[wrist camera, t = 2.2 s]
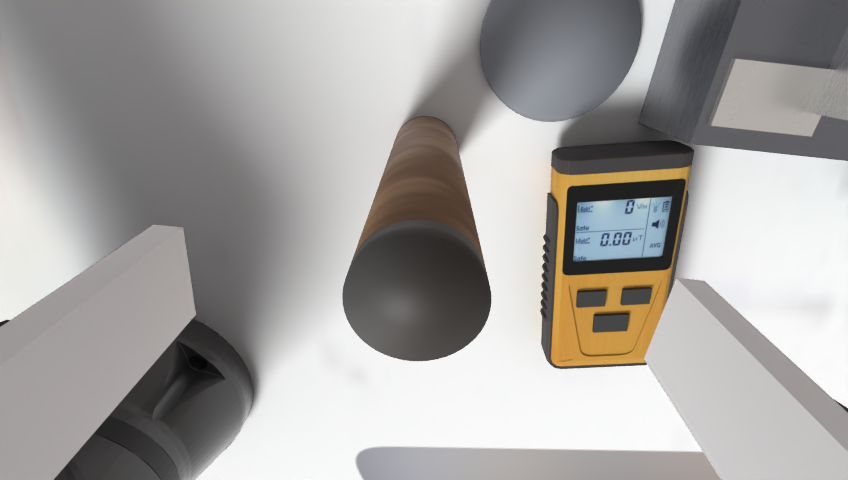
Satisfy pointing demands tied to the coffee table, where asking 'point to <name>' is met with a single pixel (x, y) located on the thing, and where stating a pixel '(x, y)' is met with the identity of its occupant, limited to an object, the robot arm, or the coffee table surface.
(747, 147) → the box
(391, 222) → the brown cylinder with cap
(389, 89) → the coffee table surface
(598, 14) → the coaster
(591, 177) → the electronic device
